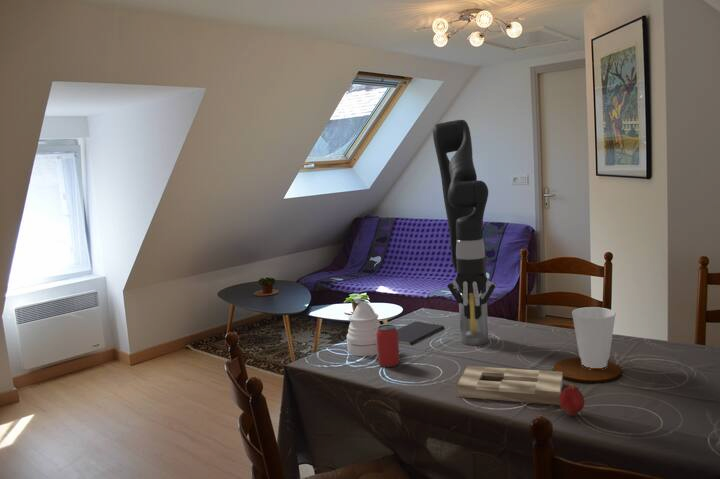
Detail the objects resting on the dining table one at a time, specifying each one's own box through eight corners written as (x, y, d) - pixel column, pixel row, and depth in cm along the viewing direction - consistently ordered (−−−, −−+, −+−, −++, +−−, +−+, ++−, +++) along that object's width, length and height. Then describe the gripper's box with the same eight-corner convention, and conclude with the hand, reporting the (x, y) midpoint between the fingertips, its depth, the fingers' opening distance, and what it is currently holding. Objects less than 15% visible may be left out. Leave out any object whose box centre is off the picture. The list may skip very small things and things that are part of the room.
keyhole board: (467, 377, 177) (467, 366, 176) (562, 383, 167) (562, 371, 167) (457, 396, 164) (457, 384, 163) (560, 404, 155) (559, 392, 154)
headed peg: (467, 333, 170) (465, 287, 169) (483, 334, 169) (481, 288, 167) (464, 338, 167) (462, 291, 165) (479, 338, 165) (478, 291, 163)
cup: (622, 363, 179) (622, 310, 177) (606, 376, 171) (606, 320, 168) (582, 356, 187) (581, 305, 185) (565, 367, 179) (564, 314, 176)
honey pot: (341, 355, 204) (337, 302, 201) (355, 342, 216) (351, 292, 213) (378, 357, 199) (374, 303, 197) (390, 344, 211) (386, 293, 209)
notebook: (410, 346, 209) (444, 329, 225) (410, 342, 209) (443, 325, 225) (381, 341, 217) (415, 325, 233) (380, 336, 217) (415, 321, 233)
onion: (555, 411, 151) (554, 380, 150) (578, 409, 151) (577, 378, 150) (565, 421, 145) (564, 389, 144) (588, 419, 146) (588, 387, 145)
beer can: (398, 367, 188) (395, 330, 187) (377, 367, 190) (374, 330, 188) (400, 360, 195) (398, 323, 193) (380, 360, 196) (378, 324, 194)
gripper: (498, 253, 165) (501, 315, 168) (448, 253, 171) (451, 313, 173) (493, 258, 159) (496, 323, 161) (441, 258, 164) (444, 321, 166)
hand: (473, 318), depth 167 cm, fingers closed on headed peg, 2 cm apart
